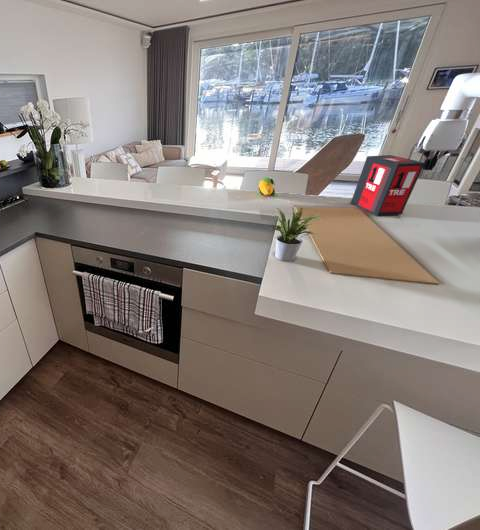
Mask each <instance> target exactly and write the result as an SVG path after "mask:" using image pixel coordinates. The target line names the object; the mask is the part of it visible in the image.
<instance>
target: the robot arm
mask: <svg viewBox="0 0 480 530" xmlns="http://www.w3.org/2000/svg"><path fill="white" fill-rule="evenodd" d="M478 98H480V72H469V73H468V72H467V73H461V74H458V75H456V76H455V77H454V78H453V80H452V82H451V85H450V87H449V89H448V91H447V93H446V95H445V97H444V100H443V102H442V104H441V107H440V109H439V111H438V113H437V116H436V117H435V119H432V120H431V121H430V123H429V124H427V127H426V128H425V130H424V132H423V133H422V136H421V137H420V139H419V141H418V144H417V149H416V153H417V154H420V155H423V156H424V158H425V159H424V161H423V162H424V163H425V164H424V166H423V168H422V170H424V171H433V169H434V168H435V167H436V165H437V163H438V161H439V160H440V159H442V158H444V157H445V156H446V155H450V154H454V153H456V150H457V149H458V148H459V146H460V144H461V143H462V140H463V138H464V136H465V134H466V131H467V127H468V123H469V119H468V118H469V117H471V116H473V115H474V114H475V110H473V107H474V105H475V103H476V101H477V99H478Z"/></svg>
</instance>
